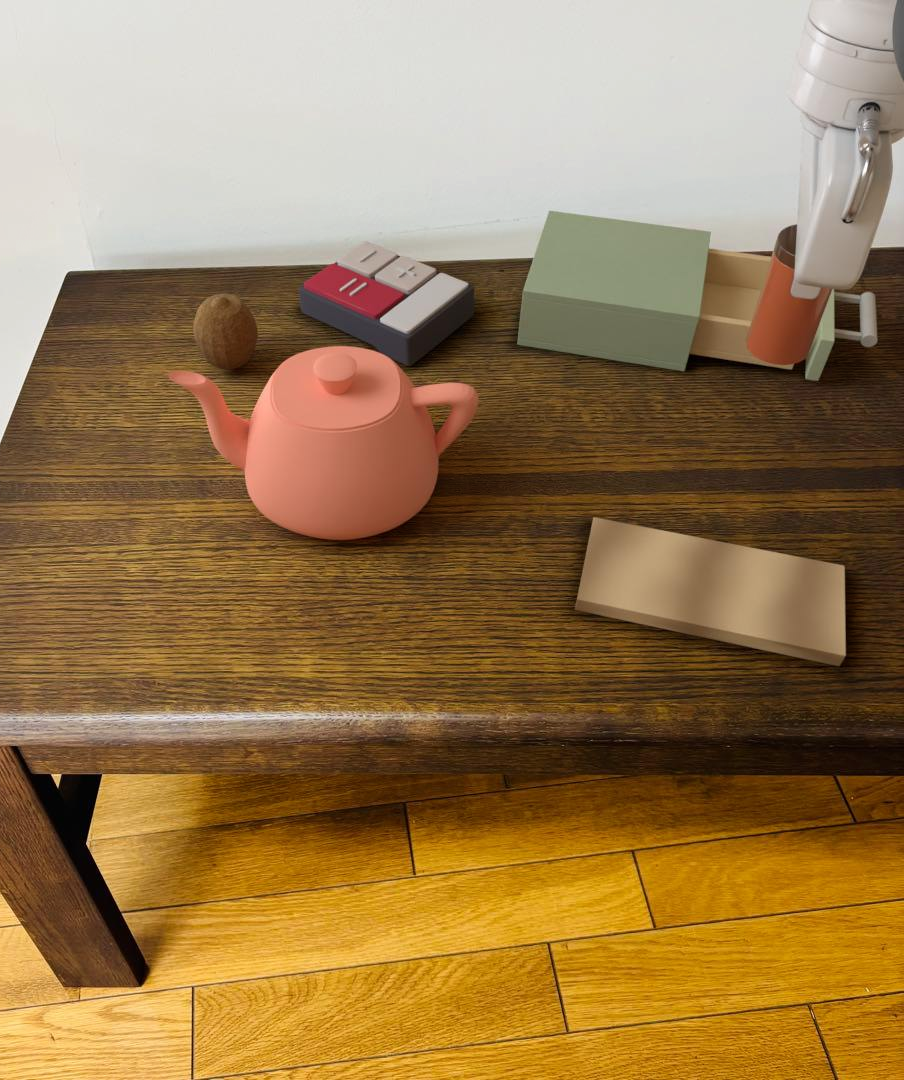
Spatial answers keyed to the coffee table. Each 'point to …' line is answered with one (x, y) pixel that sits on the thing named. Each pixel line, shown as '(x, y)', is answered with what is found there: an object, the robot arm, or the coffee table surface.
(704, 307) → the drawer
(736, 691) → the coffee table surface
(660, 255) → the cabinet
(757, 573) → the board
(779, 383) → the coffee table surface
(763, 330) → the spice jar
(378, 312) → the calculator
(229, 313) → the fruit
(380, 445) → the teapot
